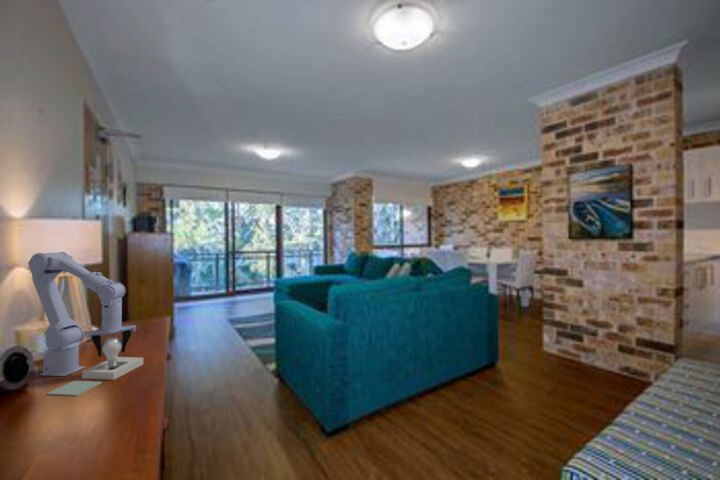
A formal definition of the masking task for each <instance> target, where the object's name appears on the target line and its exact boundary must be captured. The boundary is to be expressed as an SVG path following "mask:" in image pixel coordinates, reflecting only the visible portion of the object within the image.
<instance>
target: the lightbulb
mask: <svg viewBox="0 0 720 480" xmlns="http://www.w3.org/2000/svg"><path fill="white" fill-rule="evenodd" d="M121 339H122V338H119V337H117V336H112V337H111V336H110V337H107V338H106V339H104V340H103V341H102V342H101V354H104V356H105V358H106V361H107V360H108V367H111V368H110V369H114V368H113V367H115V366H116V365H117V357H119V353H120V352H121V351H122V346H123V343H122V340H121Z"/></svg>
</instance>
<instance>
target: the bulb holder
mask: <svg viewBox="0 0 720 480" xmlns="http://www.w3.org/2000/svg"><path fill="white" fill-rule="evenodd" d="M143 365H144V357H134V356H133V357H130V356H118V357H117V365H116V366H115V367H113V368H111V367H108V360H107V359H106V360H105V361H102V362H100V363H98V364H96V365H93V366H91V367H89V368H87V369H85V370H82V371H81V379H82V380H107V381H108V380H110V381H112V380H116V379H118V378H120V377H122V376H124V375H126V374H127V373H129V372H131V371H134V370H135V369H137V368H139V367H141V366H143Z"/></svg>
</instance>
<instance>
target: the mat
mask: <svg viewBox="0 0 720 480" xmlns="http://www.w3.org/2000/svg"><path fill="white" fill-rule="evenodd" d="M102 383H103V381H93V380H91V381H90V380H89V381H87V380H85V381H84V380H73V381H70V382H68V383H66V384H65V385H62V386H60V387H58V388H56V389H53V390H51V391H49V392H47V393H46V395H48V396H65V397H66V396H71V397H72V396H73V397H79V396H80V395H81V394H83V393H85V392H87V391H89V390H91V389H93V388H95V387H97V386H99V385H101V384H102Z"/></svg>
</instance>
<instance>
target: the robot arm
mask: <svg viewBox="0 0 720 480" xmlns="http://www.w3.org/2000/svg"><path fill="white" fill-rule="evenodd" d="M27 265H28V267H29V270H30V272H31V280H32V283H33V285H34V288H35V290H36V293H37V296H38V298H39V301H40V304H41V305H42V308H43V311H44V313H45V316H46V319H47V321H48V323H49V326H48V327H47V329H46V330H45V331H44V337H45V345H46V347H47V350H46V351H45V352H44V353H43V354H44V355H43V359H42V360H43V363H42V365H43V367H42V368H43V369H42V370H43V373H40V376H50V377H51V376H52V377H67V376H69V375H71V374H74V373H77V372H78V371H81V370H83V369H84V368H86V366H85V365H80V363H79V357H80V354H79V353H80V352H79V349H80V348H79V346H80V345H81V341H83V340H84V338H85V339H90V338H91V341H92V342H93V344H94V346H95V348H96V350H97V354H98V355H97V356H98V358H101V357H102V351H101V344H102V336H109V335H115V334H116V335H117V334H121V339H122V340H121V341H122V343H123V346H122V349H121V353H125V351H126V348H127V345H128V342H129V339H130V338H131V336H132V332H137V325H136V324H133V325H132V324H131V325H123V323H122V320H123V319H122V318H123V317H122V316H123V315H122V314H123V311H122V310H123V309H122V308H123V307H122V306H123V297H124V296H125V294H126V291H127V290H126V287H125V285H124V284H123V283H121V282H114V281H113V280H112V279H109V278H107V277H105V275H103V273H102V272H100V271H99V272H98V271H93V272H91V271H89V270H88V269H86V268H85V267H84V266H83V265H81V264H79V262H77V261H75V260H74V259H73V256H72V255H69V254H68V253H67V252H65V251H59V252H46V253H45V252H37V253H35V254H33V255H32V256H31V258H30V259H29V260H28V262H27ZM63 271H65V272H67V273H69V274H71V275H72V276H74V277H76V278H78V279H80V280H82V285H83V286H85V287H87V288H88V289H89V290H91V291H93V292H95V293H96V294H97V297H98V299H99V300H100V305H101V328H100V329H94V330H89V331H85V330H84V329H83V328H82V327H81V326H80V324H79V323H78V321H76V320H74V319H71V318H70V316H69V314H68V313H69V312H68V310H67V308H66V305H65V303H64V301H63V298H62V294H61V293H60V291H59V288H58V285H57V282H56V278H57V277H58V276H59V275H60V274H61V273H63Z"/></svg>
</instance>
